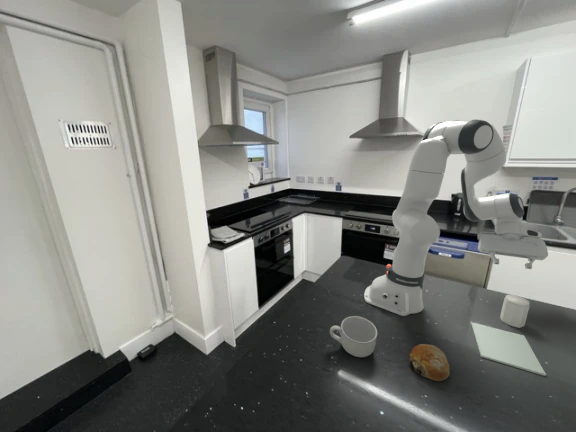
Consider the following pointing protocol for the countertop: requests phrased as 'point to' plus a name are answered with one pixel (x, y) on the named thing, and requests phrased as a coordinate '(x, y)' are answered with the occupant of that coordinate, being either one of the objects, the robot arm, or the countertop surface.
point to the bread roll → (429, 362)
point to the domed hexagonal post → (514, 310)
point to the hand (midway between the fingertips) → (512, 266)
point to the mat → (506, 348)
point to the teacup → (356, 336)
